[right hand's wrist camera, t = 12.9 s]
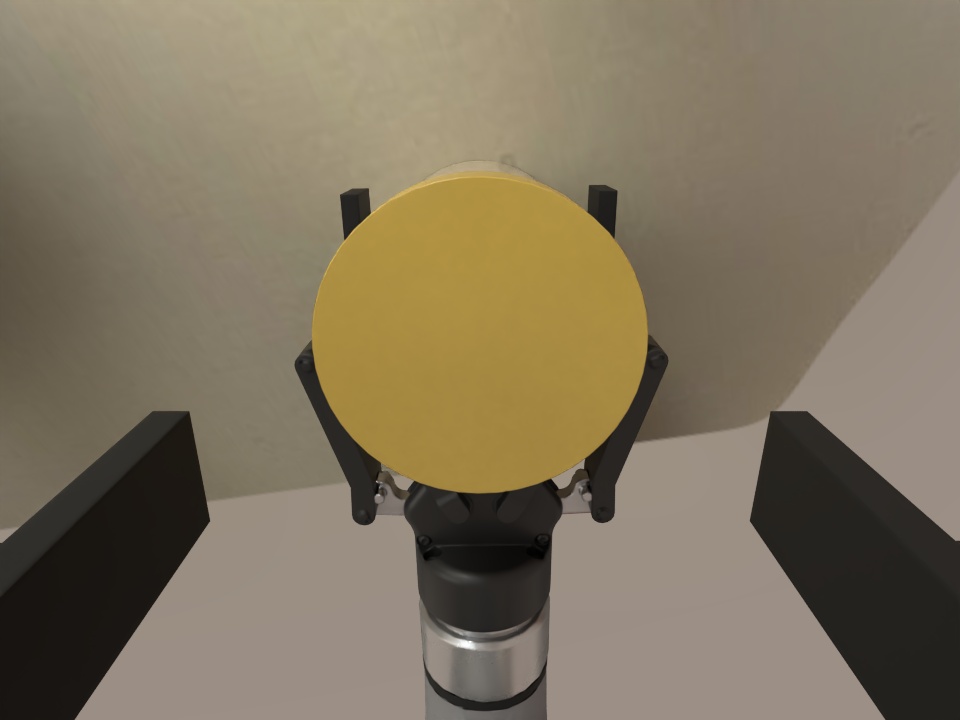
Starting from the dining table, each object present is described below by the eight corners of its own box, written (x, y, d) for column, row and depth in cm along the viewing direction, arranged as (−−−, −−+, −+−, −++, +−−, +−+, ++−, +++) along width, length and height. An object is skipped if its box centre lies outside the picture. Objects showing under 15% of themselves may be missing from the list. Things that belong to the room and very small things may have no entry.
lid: (603, 132, 20) (618, 133, 17) (652, 426, 23) (669, 457, 21) (283, 217, 21) (260, 227, 18) (381, 486, 24) (371, 521, 22)
